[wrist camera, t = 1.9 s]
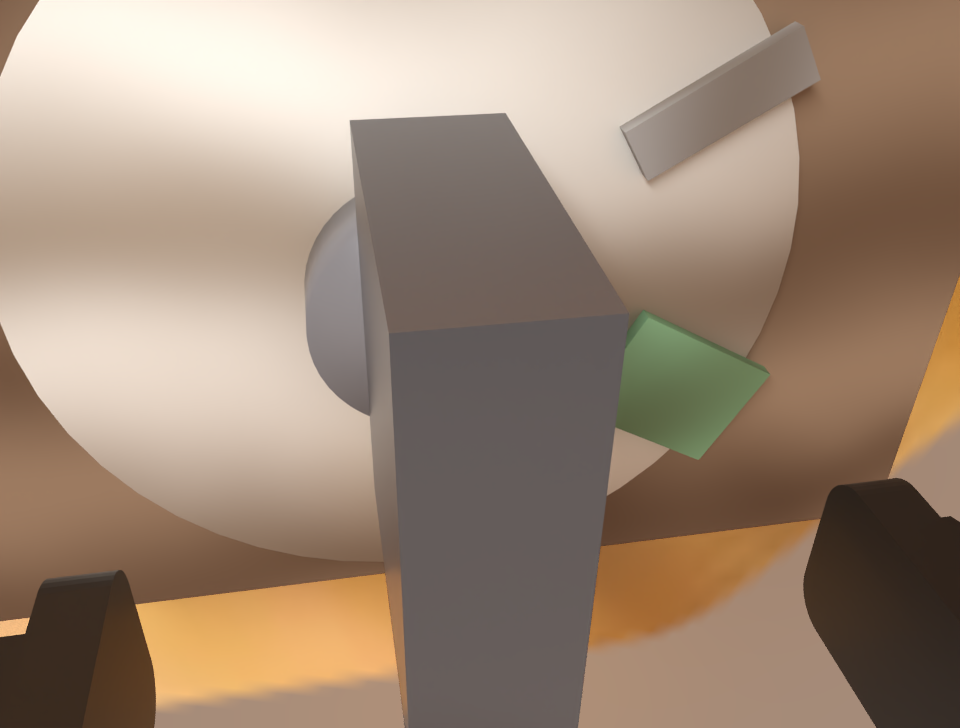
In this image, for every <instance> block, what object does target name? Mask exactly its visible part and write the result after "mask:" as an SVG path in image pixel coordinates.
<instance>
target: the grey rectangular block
mask: <svg viewBox="0 0 960 728" xmlns="http://www.w3.org/2000/svg"><path fill="white" fill-rule="evenodd" d="M350 134H351V149H352V164H353V179H354V193H355V197H354V198H352V199H351V200H350V201H348V202H347V203H345V204H344V205H343V206H342V207H341V208H340V209H339V210H338V211H337V212H336V213H334V214H333V215H332V217H331V218H330V219H329V220H328V222H327V223H326V224H325V225H324V226H323V228H322V230H321V231H320V233H319V234H318V236H317V238H316V239H315V242H314V244H313V246H312V248H311V251H310V253H309V257H308V261H307V264H306V270H305V278H304V286H305V312H306V335H307V342H308V347H309V352H310V355H311V358H312V360H313V363H314V365H315V367H316V369H317V371H318V373H319V375H320V377H321V378H322V379H323V381H324V382H325V383H326V385H327V386H328V387H329V388H330V389H331V390H332V391H333V392H334V393H335V394H336V395H337V396H338V397H339V398H340V399H341V400H343V401H344V402H345V403H347V404H348V405H349V406H351V407H352V408H354V409H356V410H358V411H359V412H361V413H363V414H365V415H368V416H370V428H371V443H372V457H373V472H374V487H375V496H376V504H377V512H378V520H379V528H380V536H381V544H382V551H383V559H384V567H385V575H386V583H387V591H388V599H389V607H390V615H391V623H392V631H393V639H394V647H395V654H396V662H397V670H398V678H399V686H400V694H401V702H402V710H403V718H404V725H405V728H578V722H579V713H580V706H581V698H582V690H583V682H584V674H585V666H586V658H587V650H588V642H589V634H590V626H591V618H592V610H593V602H594V594H595V586H596V578H597V570H598V562H599V554H600V546H601V538H602V529H603V521H604V513H605V505H606V497H607V489H608V481H609V473H610V465H611V457H612V449H613V441H614V433H615V425H616V417H617V409H618V401H619V393H620V385H621V377H622V369H623V361H624V353H625V345H626V337H627V329H628V321H629V312H628V310H627V309H626V307H625V305H624V304H623V302H622V300H621V299H620V297H619V296H618V294H617V292H616V291H615V289H614V288H613V286H612V284H611V283H610V281H609V279H608V278H607V276H606V275H605V273H604V271H603V270H602V268H601V267H600V265H599V263H598V262H597V260H596V258H595V257H594V255H593V254H592V252H591V250H590V249H589V247H588V245H587V244H586V242H585V241H584V239H583V237H582V236H581V234H580V233H579V231H578V229H577V228H576V226H575V224H574V223H573V221H572V220H571V218H570V216H569V215H568V213H567V212H566V210H565V208H564V207H563V205H562V203H561V202H560V200H559V199H558V197H557V195H556V194H555V192H554V191H553V189H552V187H551V186H550V184H549V182H548V181H547V179H546V178H545V176H544V174H543V173H542V171H541V169H540V168H539V166H538V165H537V163H536V161H535V160H534V158H533V157H532V155H531V153H530V152H529V150H528V148H527V147H526V145H525V144H524V142H523V140H522V139H521V137H520V136H519V134H518V132H517V131H516V129H515V127H514V126H513V124H512V123H511V121H510V119H509V118H508V116H507V115H506V113H494V114H472V115H451V116H429V117H407V118H386V119H364V120H350Z"/></svg>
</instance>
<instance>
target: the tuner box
mask: <svg viewBox="0 0 960 728" xmlns="http://www.w3.org/2000/svg"><path fill="white" fill-rule="evenodd" d="M494 113H506V115H507V116H508V118H509V119H510V121H511V123H512V124H513V126H514V127H515V129H516V131H517V132H518V134H519V136H520V137H521V139H522V140H523V142H524V144H525V145H526V147H527V148H528V150H529V152H530V153H531V155H532V157H533V158H534V160H535V161H536V163H537V165H538V166H539V168H540V169H541V171H542V173H543V174H544V176H545V178H546V179H547V181H548V182H549V184H550V186H551V187H552V189H553V191H554V192H555V194H556V195H557V197H558V199H559V200H560V202H561V203H562V205H563V207H564V208H565V210H566V212H567V213H568V215H569V216H570V218H571V220H572V221H573V223H574V224H575V226H576V228H577V229H578V231H579V233H580V234H581V236H582V237H583V239H584V241H585V242H586V244H587V245H588V247H589V249H590V250H591V252H592V254H593V255H594V257H595V258H596V260H597V262H598V263H599V265H600V267H601V268H602V270H603V271H604V273H605V275H606V276H607V278H608V279H609V281H610V283H611V284H612V286H613V288H614V289H615V291H616V292H617V294H618V296H619V297H620V299H621V300H622V302H623V304H624V305H625V307H626V309H627V310H628V312H629V321H628V329H627V337H626V345H625V353H624V361H623V369H622V377H621V385H620V393H619V401H618V409H617V417H616V425H615V433H614V441H613V449H612V457H611V465H610V473H609V481H608V489H607V497H606V505H605V513H604V521H603V529H602V538H601V546H606V545H614V544H622V543H630V542H638V541H646V540H654V539H662V538H670V537H678V536H686V535H694V534H702V533H710V532H718V531H726V530H734V529H742V528H750V527H758V526H766V525H774V524H782V523H790V522H798V521H806V520H814V519H821V517H822V513H823V510H824V507H825V503H826V500H827V497H828V494H829V493H830V491H831V490H832V489H833V488H834V487H836V486H837V485H844V484H852V483H860V482H868V481H876V480H885V479H888V476H889V473H890V471H891V468H892V465H893V462H894V459H895V457H896V454H897V451H898V448H899V445H900V442H901V440H902V437H903V434H904V431H905V428H906V425H907V423H908V420H909V417H910V414H911V411H912V408H913V406H914V403H915V400H916V397H917V394H918V391H919V389H920V386H921V383H922V380H923V377H924V375H925V372H926V369H927V366H928V363H929V360H930V358H931V355H932V352H933V349H934V346H935V343H936V341H937V338H938V335H939V332H940V329H941V326H942V324H943V321H944V318H945V315H946V312H947V309H948V307H949V304H950V301H951V298H952V295H953V292H954V290H955V287H956V284H957V281H958V278H959V276H960V0H0V621H6V620H14V619H22V618H30V616H31V613H32V609H33V606H34V603H35V599H36V596H37V593H38V590H39V588H40V586H41V584H42V583H43V581H44V580H46V579H49V578H57V577H65V576H74V575H82V574H90V573H98V572H107V571H115V570H122V571H123V572H124V573H125V574H126V576H127V579H128V582H129V585H130V588H131V592H132V595H133V599H134V602H135V604H142V603H150V602H158V601H166V600H174V599H182V598H190V597H198V596H206V595H214V594H222V593H230V592H238V591H246V590H254V589H262V588H270V587H278V586H286V585H294V584H302V583H310V582H318V581H326V580H334V579H342V578H350V577H358V576H366V575H374V574H382V573H385V567H384V559H383V551H382V544H381V536H380V528H379V520H378V512H377V504H376V496H375V487H374V472H373V457H372V443H371V428H370V416H368V415H365V414H363V413H361V412H359V411H358V410H356V409H354V408H352V407H351V406H349V405H348V404H347V403H345V402H344V401H343V400H341V399H340V398H339V397H338V396H337V395H336V394H335V393H334V392H333V391H332V390H331V389H330V388H329V387H328V386H327V385H326V383H325V382H324V381H323V379H322V378H321V377H320V375H319V373H318V371H317V369H316V367H315V365H314V363H313V360H312V358H311V355H310V352H309V347H308V342H307V335H306V312H305V286H304V278H305V270H306V264H307V261H308V257H309V253H310V251H311V248H312V246H313V244H314V242H315V239H316V238H317V236H318V234H319V233H320V231H321V230H322V228H323V226H324V225H325V224H326V223H327V222H328V220H329V219H330V218H331V217H332V215H333V214H334V213H336V212H337V211H338V210H339V209H340V208H341V207H342V206H343V205H344V204H345V203H347V202H348V201H350V200H351V199H352V198H354V197H355V193H354V179H353V164H352V149H351V134H350V120H364V119H386V118H407V117H429V116H451V115H472V114H494Z"/></svg>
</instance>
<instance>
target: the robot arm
mask: <svg viewBox="0 0 960 728" xmlns="http://www.w3.org/2000/svg"><path fill="white" fill-rule="evenodd" d="M803 585H804V598H805V603H806V607H807V611H808V614H809V617H810V619H811V621H812V624H813V626H814V627H815V629H816V631H817V633H818V634H819V636H820V638H821V639H822V641H823V642H824V644H825V646H826V647H827V649H828V650H829V652H830V654H831V655H832V657H833V658H834V660H835V662H836V663H837V665H838V666H839V668H840V670H841V671H842V673H843V674H844V676H845V677H846V679H847V681H848V683H849V684H850V686H851V687H852V689H853V691H854V692H855V694H856V695H857V697H858V699H859V700H860V702H861V704H862V705H863V707H864V708H865V710H866V712H867V713H868V715H869V716H870V718H871V719H872V721H873V723H874V724H875V726H876V728H960V522H959V521H957V520H956V519H954V518H952V517H951V516H949V517H942V518H941V517H940V516H939V515H938V514H937V513H936V512H935V510H934V509H933V508H932V507H931V506H930V505H929V504H928V502H927V501H926V500H925V499H924V498H923V497H922V496H921V495H920V493H919V492H918V491H917V490H916V489H915V488H914V487H913V486H912V485H911V484H910V483H908V482H907V481H905V480H903V479H899V478H893V479H885V480H876V481H868V482H860V483H852V484H844V485H837V486H836V487H834V488H833V489H832V490H831V491H830V493H829V494H828V497H827V500H826V503H825V507H824V510H823V513H822V517H821V520H820V523H819V527H818V530H817V534H816V537H815V540H814V544H813V547H812V551H811V554H810V557H809V561H808V564H807V568H806V571H805V576H804V584H803ZM155 711H156V692H155V678H154V671H153V665H152V661H151V657H150V654H149V651H148V647H147V644H146V640H145V637H144V633H143V630H142V626H141V623H140V619H139V616H138V612H137V609H136V606H135V602H134V599H133V595H132V592H131V588H130V585H129V582H128V579H127V576H126V574H125V573H124V572H123V571H122V570H115V571H107V572H98V573H90V574H82V575H74V576H65V577H57V578H49V579H46V580H44V581H43V583H42V584H41V586H40V588H39V590H38V593H37V596H36V599H35V603H34V606H33V609H32V613H31V616H30V620H29V623H28V626H27V630H26V633H25V634H21V635H14V636H6V637H0V728H154V724H155Z"/></svg>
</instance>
